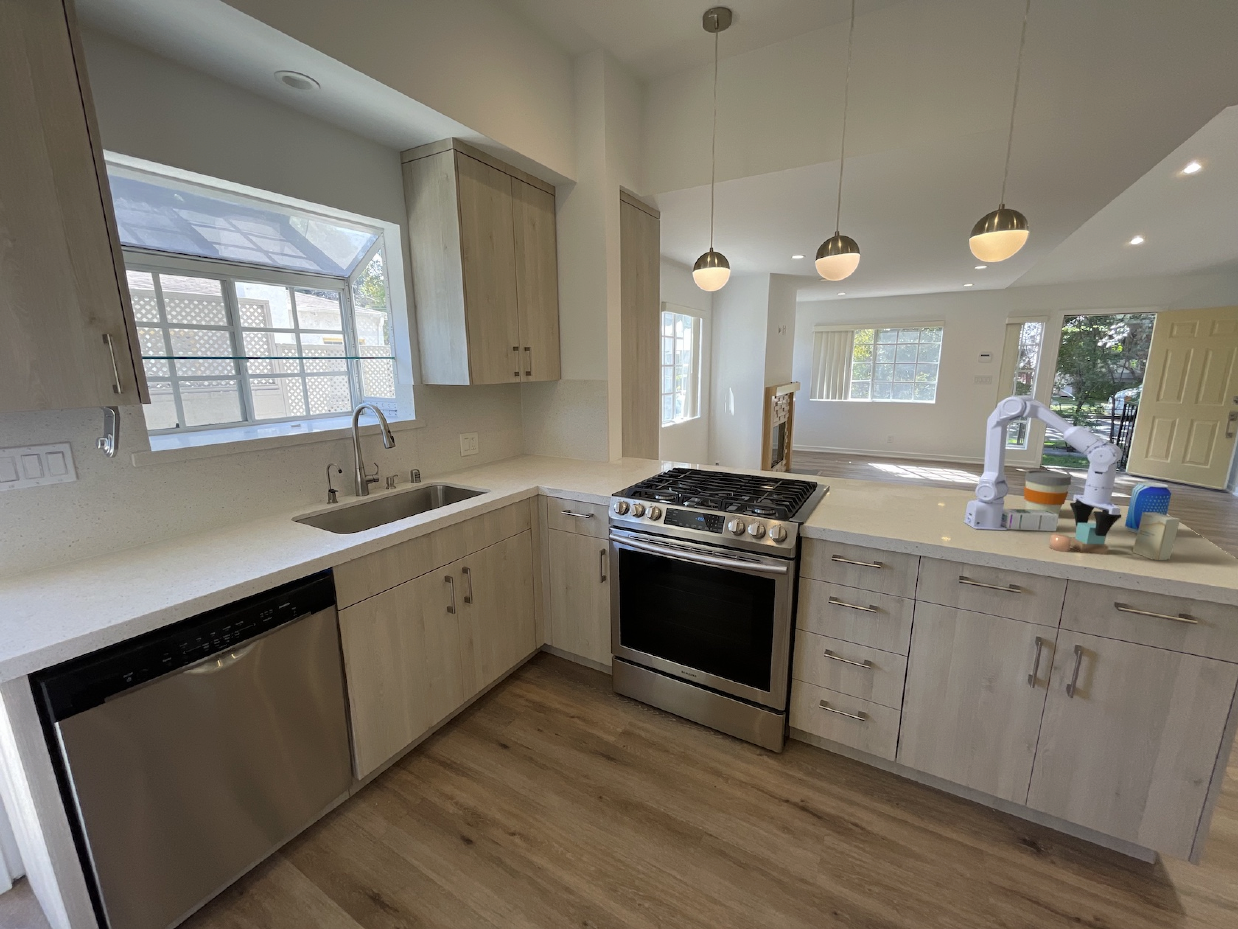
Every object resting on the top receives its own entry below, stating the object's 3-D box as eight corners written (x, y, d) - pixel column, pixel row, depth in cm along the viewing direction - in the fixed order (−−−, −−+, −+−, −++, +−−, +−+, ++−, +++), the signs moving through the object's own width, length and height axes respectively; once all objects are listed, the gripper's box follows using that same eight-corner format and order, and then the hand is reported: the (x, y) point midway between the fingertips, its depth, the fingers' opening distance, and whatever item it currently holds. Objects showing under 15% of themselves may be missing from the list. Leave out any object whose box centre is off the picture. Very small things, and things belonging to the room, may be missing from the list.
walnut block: (1080, 553, 142) (1082, 544, 141) (1068, 546, 147) (1070, 537, 147) (1106, 555, 140) (1108, 545, 140) (1092, 548, 146) (1094, 538, 145)
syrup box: (1059, 514, 158) (1008, 512, 161) (1056, 532, 159) (1006, 529, 162) (1047, 510, 163) (999, 507, 166) (1044, 526, 165) (996, 524, 167)
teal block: (1104, 544, 140) (1107, 528, 139) (1086, 544, 141) (1089, 527, 140) (1091, 539, 145) (1095, 523, 144) (1074, 538, 145) (1077, 522, 144)
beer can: (1150, 529, 161) (1161, 482, 157) (1169, 537, 153) (1180, 488, 150) (1118, 526, 163) (1127, 480, 160) (1134, 534, 156) (1144, 486, 152)
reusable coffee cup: (1065, 521, 169) (1072, 479, 166) (1018, 514, 177) (1025, 474, 174) (1064, 513, 178) (1071, 473, 175) (1020, 507, 186) (1026, 468, 183)
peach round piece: (1056, 551, 143) (1058, 538, 142) (1045, 546, 147) (1047, 533, 146) (1073, 552, 142) (1075, 539, 141) (1061, 546, 146) (1064, 534, 146)
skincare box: (1131, 552, 141) (1140, 512, 139) (1145, 552, 142) (1154, 511, 139) (1157, 561, 135) (1166, 519, 133) (1171, 560, 136) (1181, 518, 133)
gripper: (1137, 493, 132) (1127, 540, 135) (1095, 480, 146) (1087, 524, 149) (1106, 492, 133) (1097, 539, 136) (1068, 480, 147) (1061, 523, 150)
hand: (1090, 531), depth 143 cm, fingers open, 7 cm apart
